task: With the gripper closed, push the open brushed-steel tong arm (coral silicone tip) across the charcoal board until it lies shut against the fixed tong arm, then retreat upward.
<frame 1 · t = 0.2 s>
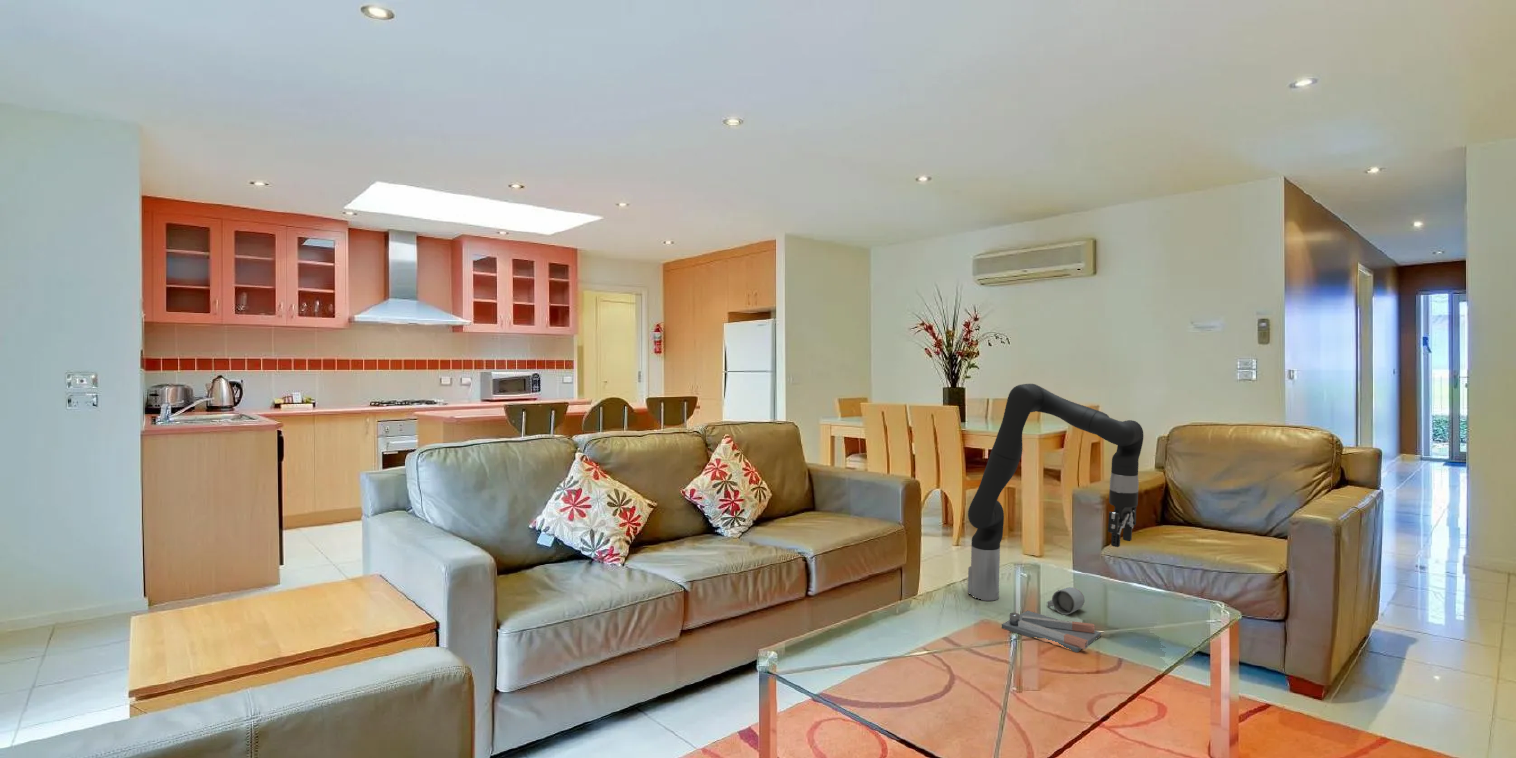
hand: (1121, 543, 217), 28 cm above the table, fingers open, 8 cm apart
tongs free arm: (1057, 624, 222), point 2 cm above the table, hinge at 28.0°
board: (1050, 632, 222), on the table
ceramic mug: (1064, 610, 239), on the table
tongs fixed arm: (1014, 623, 225), resting on board
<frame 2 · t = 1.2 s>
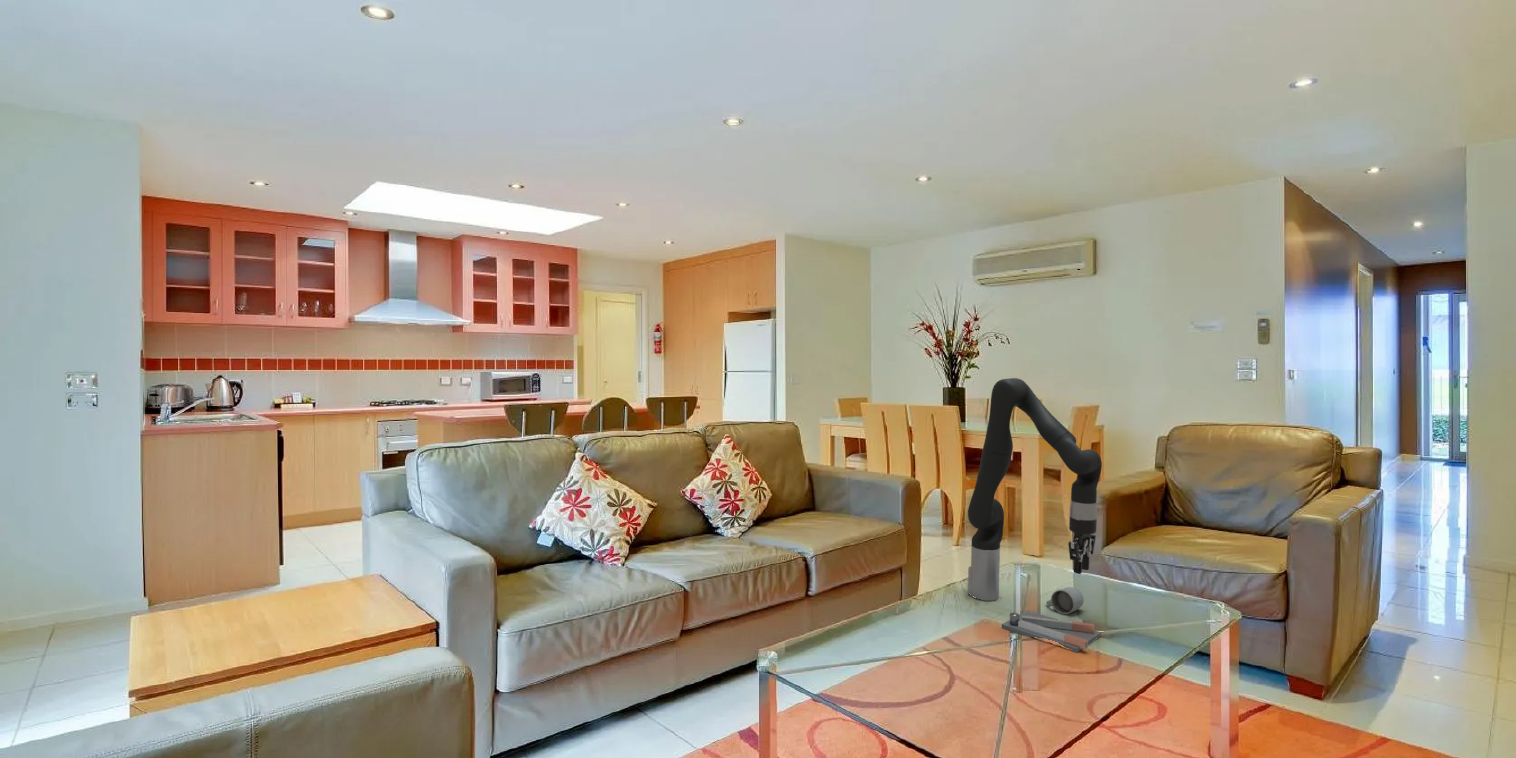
hand: (1081, 571, 225), 17 cm above the table, fingers open, 4 cm apart
nothing on the table moved.
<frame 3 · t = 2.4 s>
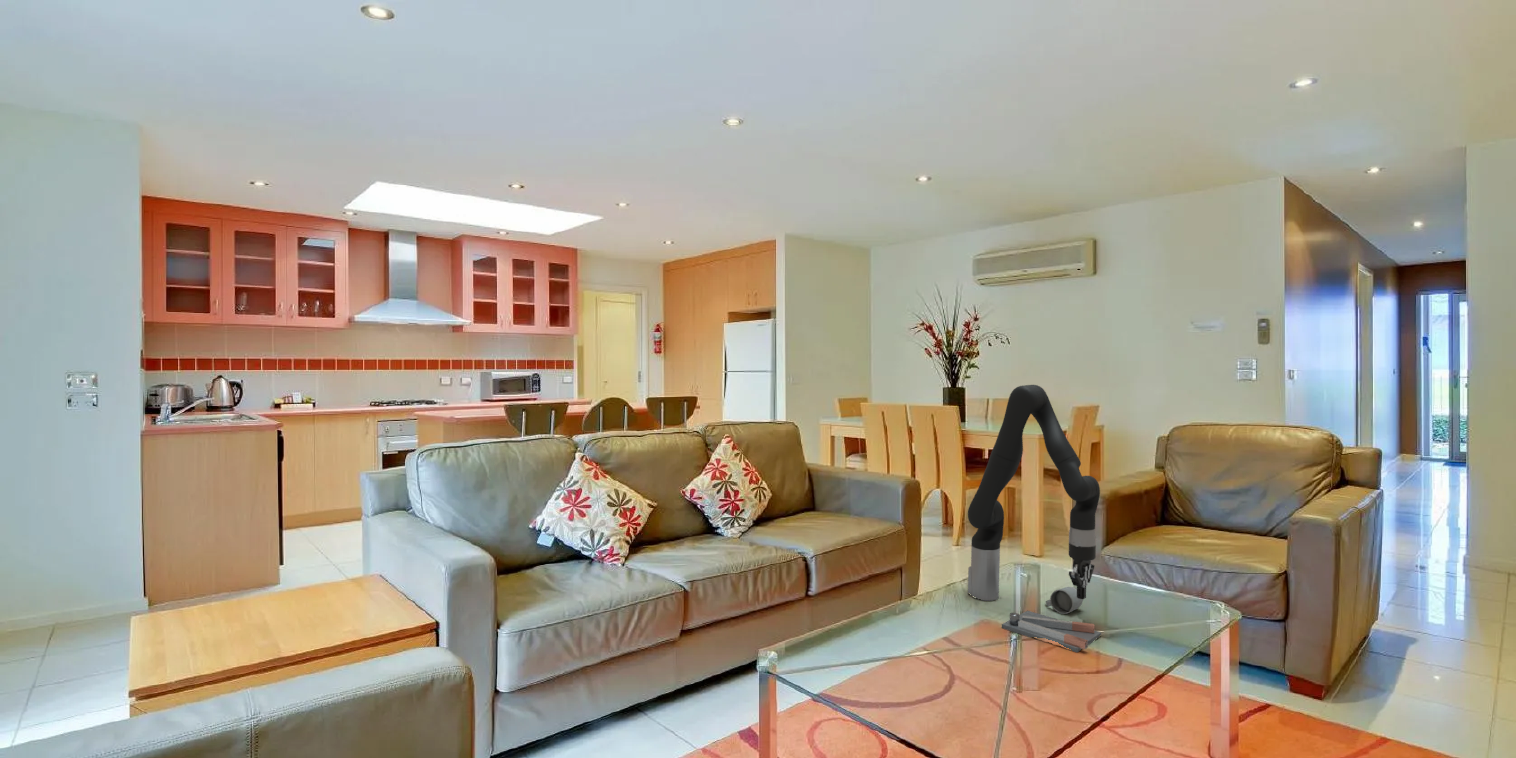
hand: (1081, 598, 225), 9 cm above the table, fingers closed
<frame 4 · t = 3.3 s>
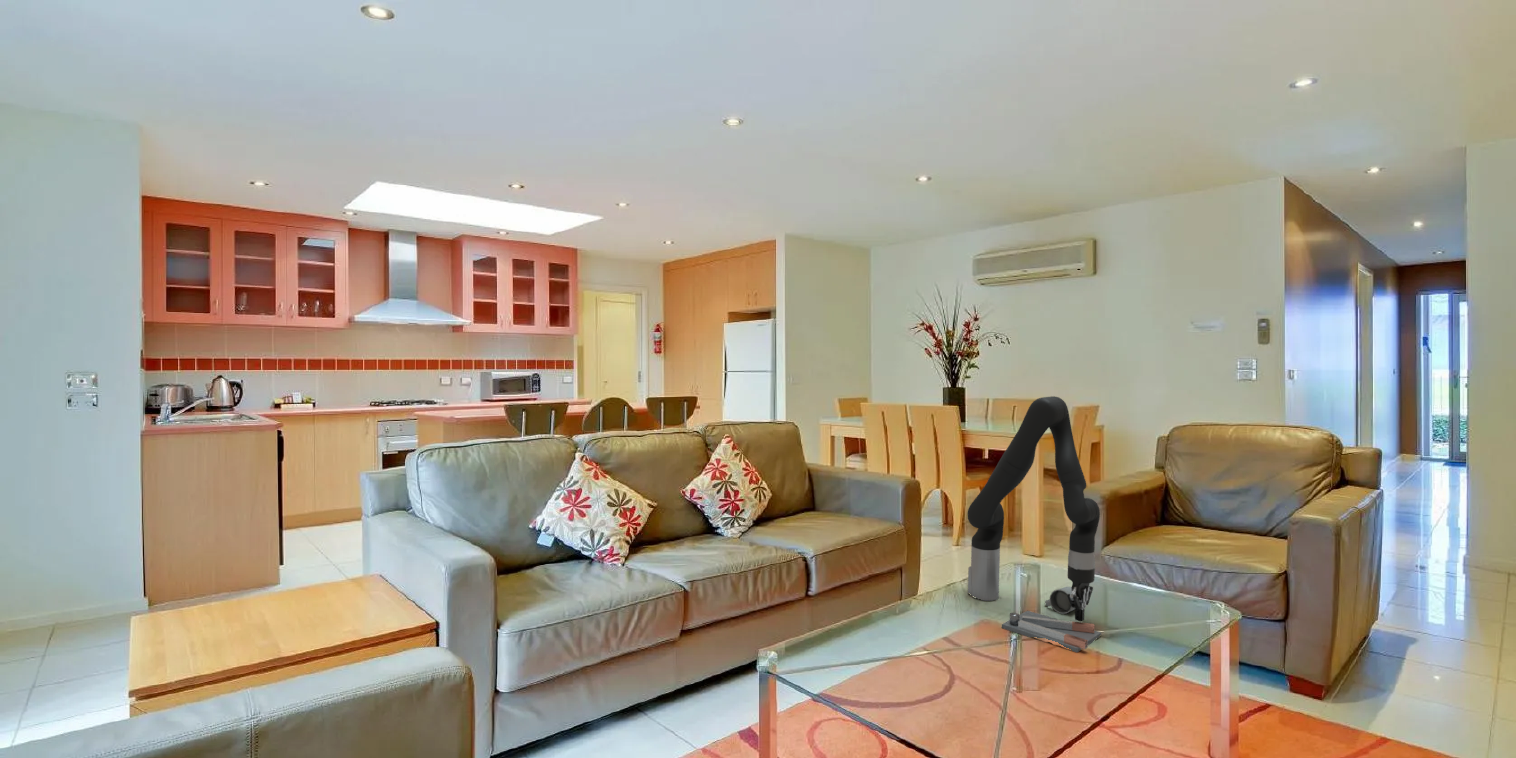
hand: (1079, 620, 226), 2 cm above the table, fingers closed
nothing on the table moved.
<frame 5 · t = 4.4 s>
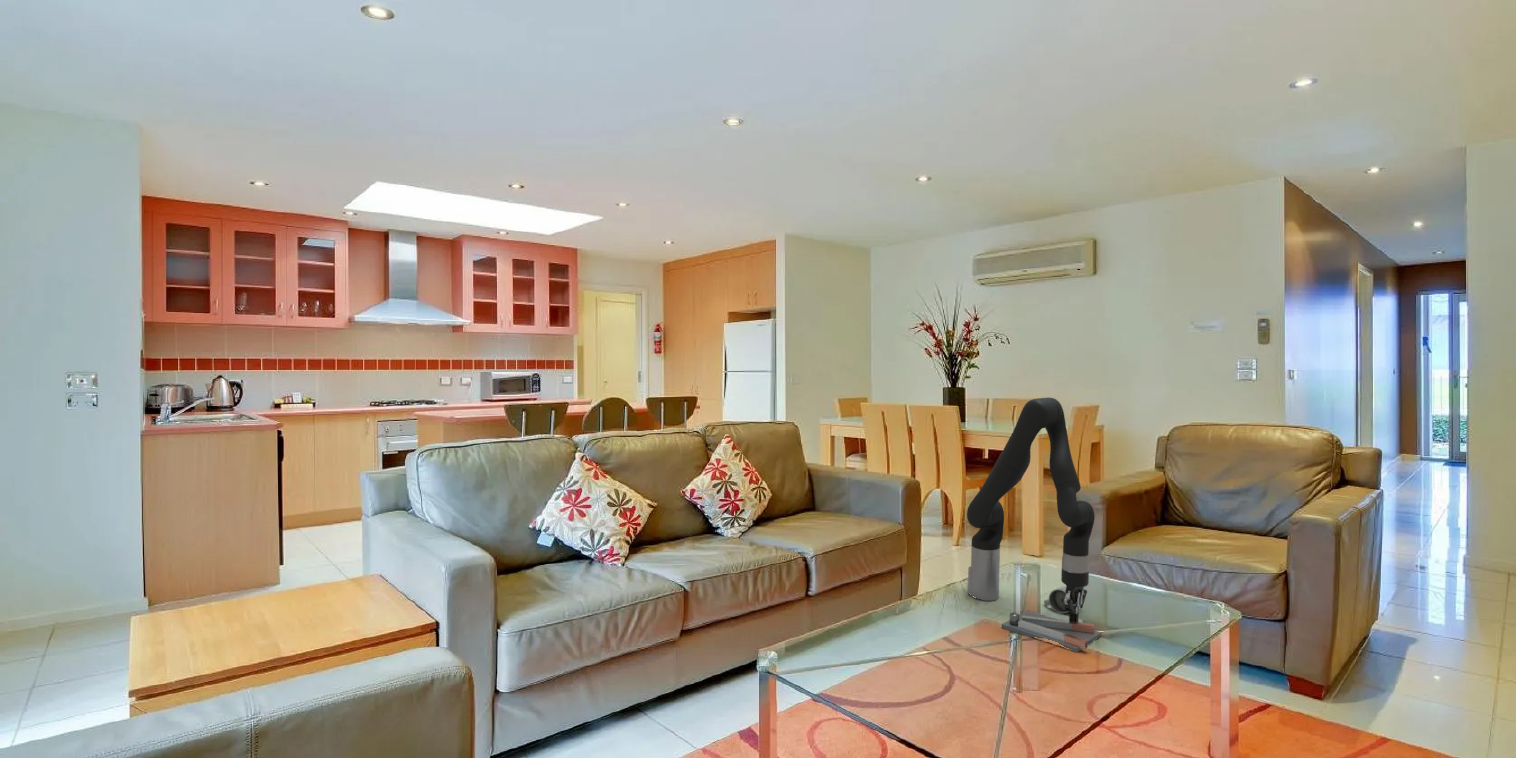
hand: (1073, 624, 223), 2 cm above the table, fingers closed
tongs free arm: (1057, 624, 222), point 2 cm above the table, hinge at 27.8°, touching gripper
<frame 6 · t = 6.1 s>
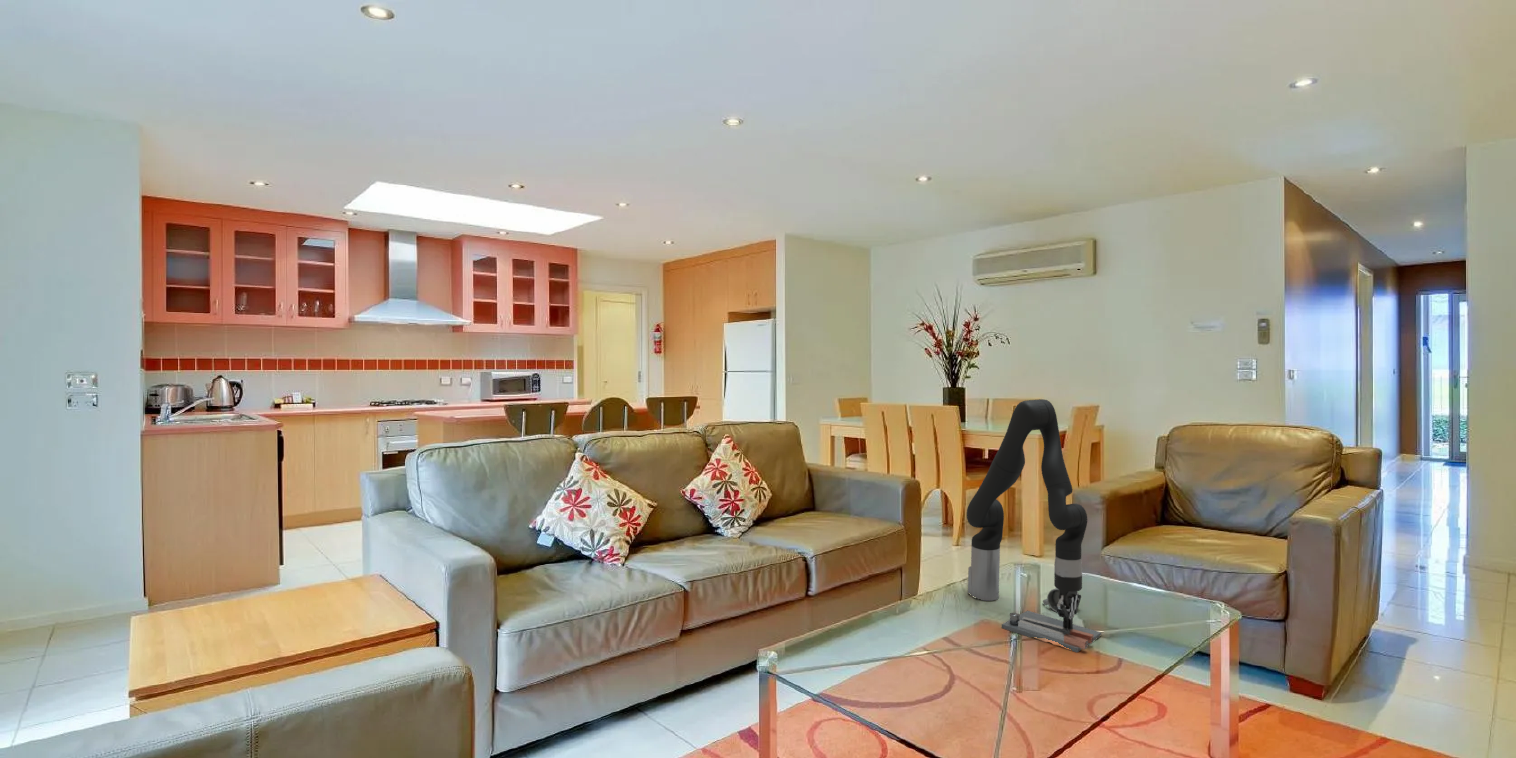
hand: (1067, 630, 218), 2 cm above the table, fingers closed
tongs free arm: (1056, 629, 218), point 2 cm above the table, hinge at 6.5°, touching gripper
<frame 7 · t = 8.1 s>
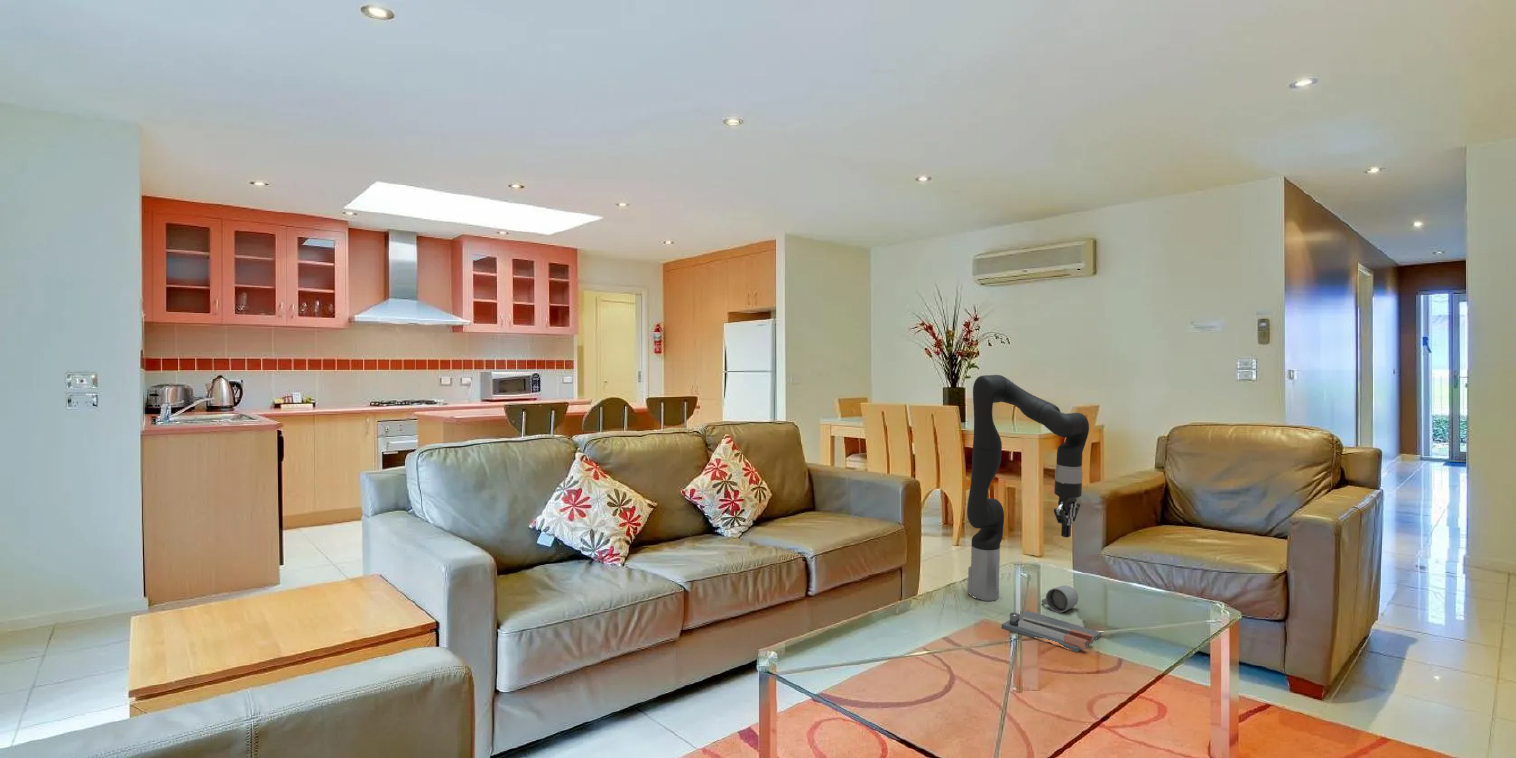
hand: (1065, 536, 222), 29 cm above the table, fingers closed
tongs free arm: (1056, 629, 218), point 2 cm above the table, hinge at 6.2°
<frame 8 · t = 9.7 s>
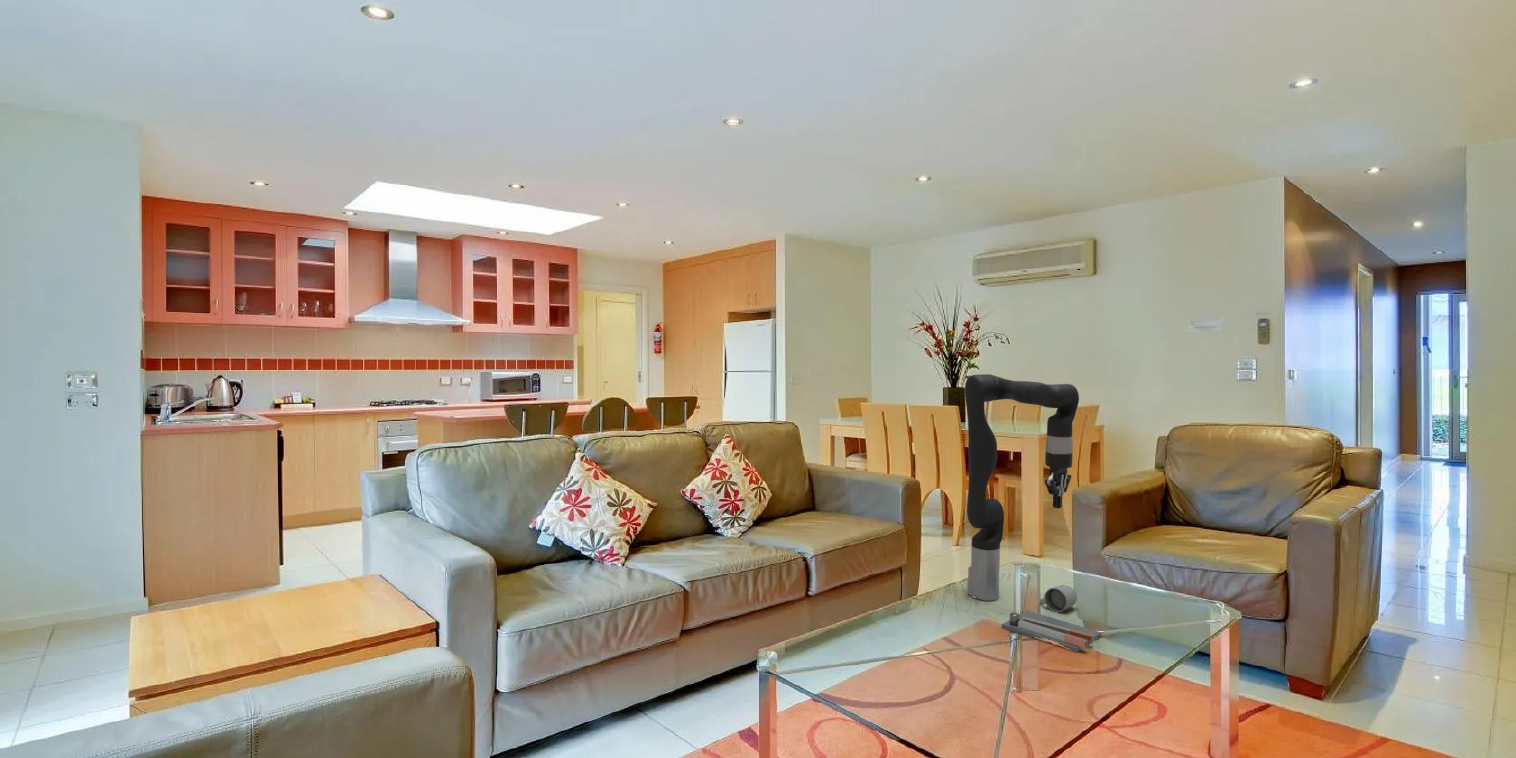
hand: (1057, 507, 222), 37 cm above the table, fingers closed
at the end: tongs free arm at +6° (first picture: +28°); ceramic mug moved 2.8 cm from its start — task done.
